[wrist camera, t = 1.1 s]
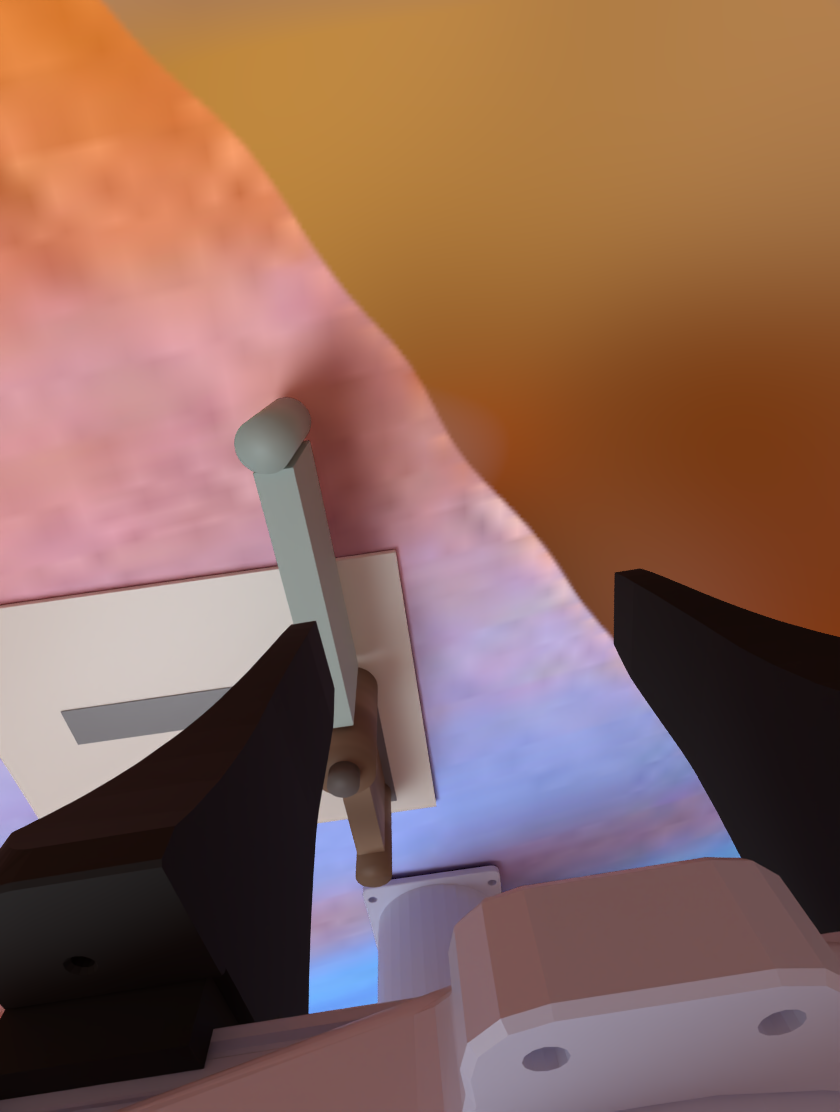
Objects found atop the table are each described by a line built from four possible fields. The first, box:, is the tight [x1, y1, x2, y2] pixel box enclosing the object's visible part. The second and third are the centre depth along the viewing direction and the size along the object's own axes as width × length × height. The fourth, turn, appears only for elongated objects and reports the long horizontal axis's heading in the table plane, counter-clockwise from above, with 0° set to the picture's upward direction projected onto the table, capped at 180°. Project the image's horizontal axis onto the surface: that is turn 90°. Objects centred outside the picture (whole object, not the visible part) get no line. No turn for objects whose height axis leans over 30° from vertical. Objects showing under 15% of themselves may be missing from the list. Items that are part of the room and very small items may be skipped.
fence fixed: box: [323, 667, 392, 888], centre depth 23 cm, size 9×2×6 cm, turn 7°
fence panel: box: [234, 397, 358, 728], centre depth 19 cm, size 12×2×4 cm, turn 7°
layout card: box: [0, 550, 436, 823], centre depth 25 cm, size 15×20×1 cm
